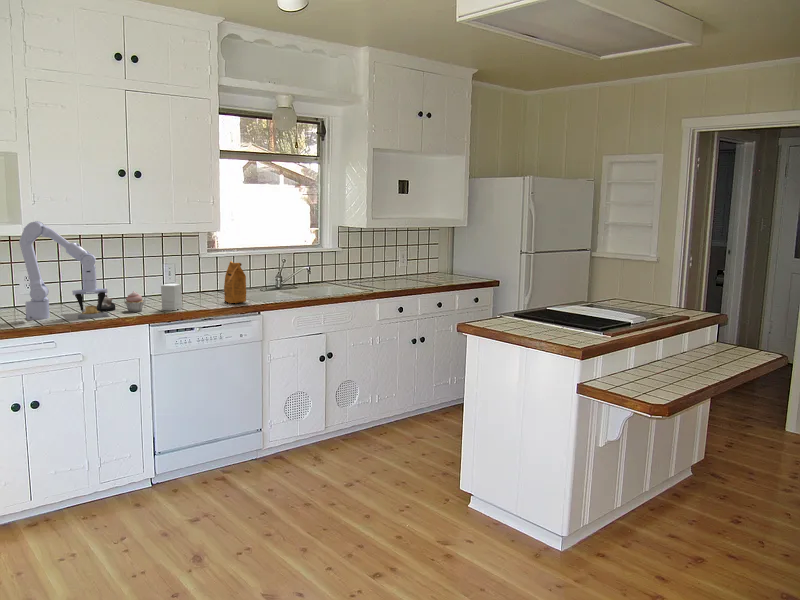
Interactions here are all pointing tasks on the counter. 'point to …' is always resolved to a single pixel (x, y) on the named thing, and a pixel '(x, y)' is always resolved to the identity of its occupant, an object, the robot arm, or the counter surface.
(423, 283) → the counter surface
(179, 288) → the supplement box
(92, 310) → the planet gear
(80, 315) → the carrier
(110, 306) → the caster wheel
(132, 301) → the cupcake
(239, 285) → the coffee package
